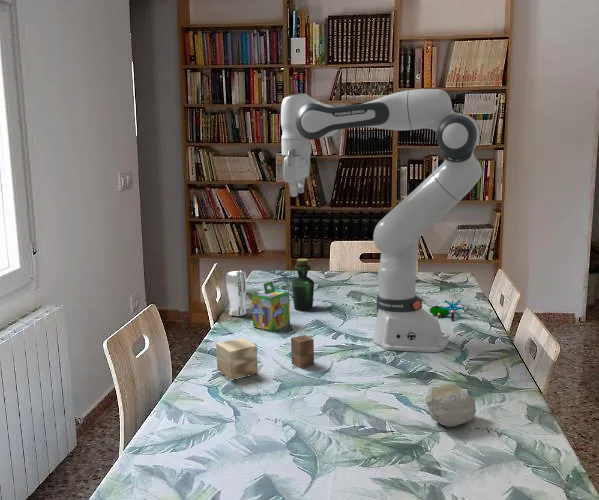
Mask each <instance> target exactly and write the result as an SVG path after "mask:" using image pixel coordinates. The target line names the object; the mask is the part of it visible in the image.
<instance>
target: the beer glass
mask: <svg viewBox="0 0 599 500" xmlns="http://www.w3.org/2000/svg"><path fill="white" fill-rule="evenodd" d="M225 278H226V281H225V284H226V285H225V286H226V293H227V298H228V303H229V311H228V315H229V314H230V315H237V316H238V315H243V314H245V313H246V314H247V310H246V295H247V277H246V271H244V270H231V271H228V272H226V277H225Z"/></svg>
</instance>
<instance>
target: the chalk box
mask: <svg viewBox="0 0 599 500" xmlns="http://www.w3.org/2000/svg"><path fill="white" fill-rule="evenodd" d="M268 286H269V287H270V288H268ZM263 288H264V289H261V290H258V291H256V292H253V293H251V306H252V307H251V309H252V312H251V313H252V327H253V326H255V327H259V328H263V329H262V330H264V329H267V330H266V331H269V330H270V331H269V332H273V331H274V332H277V331H279V330H281V329H283V327H284V328H286V327H285V326H287V325H289V324H290V325H291V316H290V315H291V313H290V311H291V310H290V292H289V291H285V290H281V289H275V286H274V283H273V281H272V280H270V281H268V282H265V283H263ZM290 325H289V326H290ZM287 327H288V326H287ZM280 328H281V329H280ZM278 329H279V330H278Z"/></svg>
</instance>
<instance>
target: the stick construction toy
mask: <svg viewBox="0 0 599 500" xmlns="http://www.w3.org/2000/svg"><path fill="white" fill-rule="evenodd" d="M444 303H446V304H447V305H449V306H442V305H440V306H439V305H435V306H432V307H430V309H429V314H430V315H431V314H432V315H433V316H437V318H438V319H441V317H442V316H445V317H447V316H449V315H451V322H455V314H456V316H458V318H460V317H461V314H460V313H458V312H457V311H459V310H463V311H464V312H465V310H466V309H465V305H463V306H462V307H461V306H458V305H457V304H458V303H461V299H459V300H457V301H456V302H454V300H451V303H450V302H449V301H448V300H447V299H445V300H444Z"/></svg>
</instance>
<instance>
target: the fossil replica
mask: <svg viewBox="0 0 599 500" xmlns="http://www.w3.org/2000/svg"><path fill="white" fill-rule="evenodd" d="M424 400H425V404H426V405H427V408H428V411H429V416H430V418H431V419H432V420H433V421H435V422H437V423H438V424H440V425H442V426H445V427H448V428H452V427H457V426H460V425H462V424H463V425H464V424H468V423H470V422H472V421H473V419H474V417H475V416H476V412H477V408H476V399H475V398H474V397H473V396H472V395H468V394H466V393H465V391H463V389H461V387H460V386H459V385H458V384H455V383H446V384H442V385H440V386H432V387H431V388H429V389H428V392H427V394H426V395H425V399H424Z"/></svg>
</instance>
